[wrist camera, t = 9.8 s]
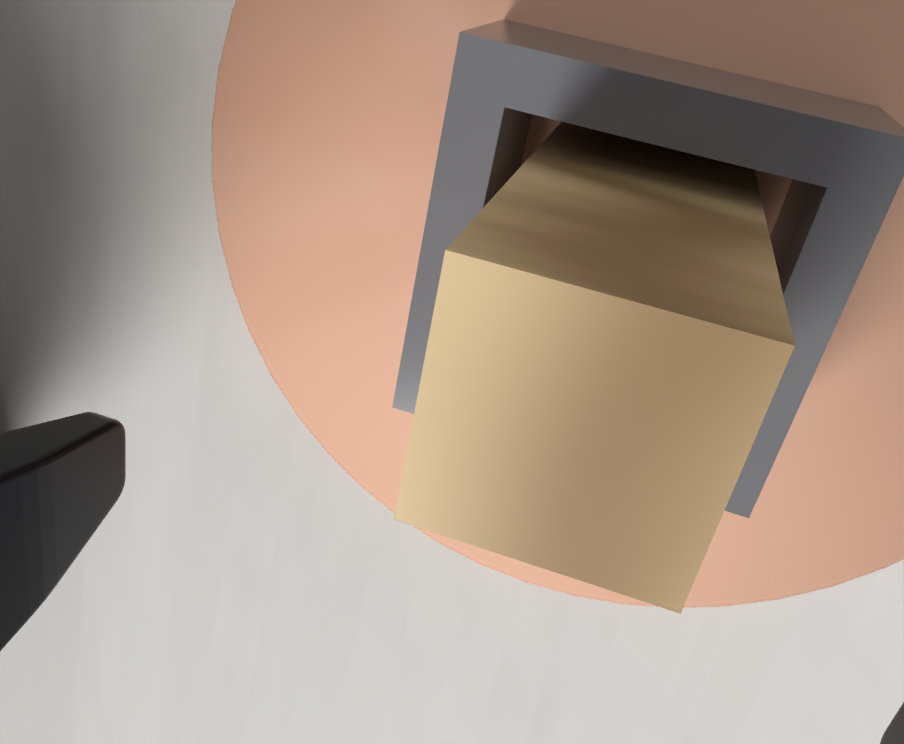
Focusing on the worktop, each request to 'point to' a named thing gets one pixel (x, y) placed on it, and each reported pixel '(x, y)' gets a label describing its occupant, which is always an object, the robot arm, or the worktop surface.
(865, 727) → the worktop surface
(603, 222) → the oak peg
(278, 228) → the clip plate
